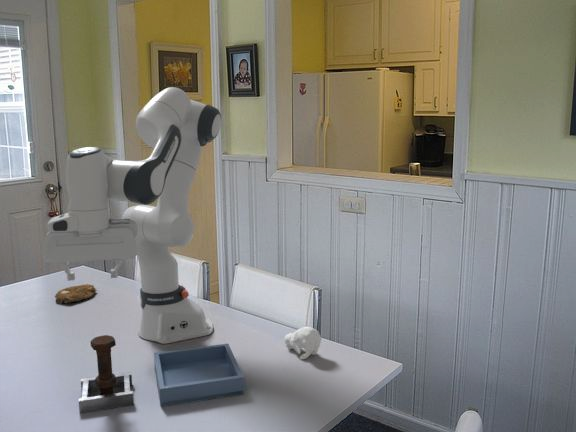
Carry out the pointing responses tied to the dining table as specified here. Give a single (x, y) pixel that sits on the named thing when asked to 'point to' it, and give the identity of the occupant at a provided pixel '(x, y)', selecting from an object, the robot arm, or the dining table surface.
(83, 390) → the bracket
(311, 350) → the white figurine
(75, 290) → the decorative rock
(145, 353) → the dining table surface
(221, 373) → the tray
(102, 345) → the bolt
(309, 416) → the dining table surface
